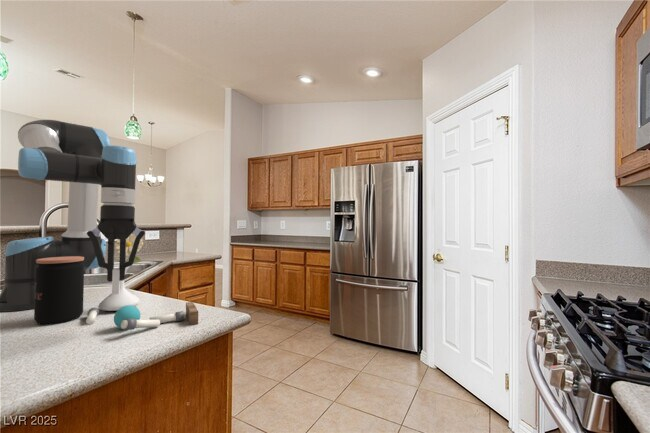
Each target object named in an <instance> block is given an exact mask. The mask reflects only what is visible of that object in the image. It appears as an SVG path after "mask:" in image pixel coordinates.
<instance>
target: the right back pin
mask: <svg viewBox="0 0 650 433" xmlns="http://www.w3.org/2000/svg"><path fill="white" fill-rule="evenodd" d="M160 325H161V323H160V320H159V319H156V320H149V319H139V320H136V319H125V320H123V321H122V323H121V328H120V329H121V330H123V331H127V330H129V331H130V330H131V331H132V330H134V329H145V328H146V329H148V328H151V329H152V328H159V327H160Z"/></svg>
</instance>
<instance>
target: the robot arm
mask: <svg viewBox="0 0 650 433" xmlns="http://www.w3.org/2000/svg"><path fill="white" fill-rule="evenodd" d="M17 138H18V142H19V144H20V145H21V146H22V147H21V148H20V149H19V151H18V159H17V160H18V162H17V169H18V170H17V172H18V175H19V176H20V178H23V179H24V178H25V179H32V180H36V181H51V182H53V181H55V182H63V183H64V182H67V183H69V184H68V207H67V209H68V210H67V224H66V225H67V229H66V231H64V232H63V233H62V234H61V238H60V239H59V240H58V239H55V238H54V237H53V236H39V237H31V238H23V239H17V240H12V241H9V242H7V244H6V246H5V254H4V257H5V259H4V260H5V263H4V266H5V267H4V283H3V284H4V285H3V288H2V290H1V292H0V312H17V311H26V310H27V311H28V310H34V308H35V273H36V268H37V267H38V264H37V263H36V260H37V259H41V258H51V257H68V256H81V257H84V260H83V261H82V264H83V265H84V271H87V270H94V269H98V268H101V269H102V268H103V269H106V271H107V272H106V273H107V274H106V276H107V277H106V281H107V282H111V293H112V295H113V294H119V292H120V281H123V280H124V281H125V279H126V274H125V268H126V267H128V266H129V267H132V266H133V265H134V263H133V262H134V259H135V256H137V253H138V252H137V249H138V246H139V243H140V239H141V240H142V238H144V237H143V236H144V235H145V234H146V232H145V230H142V229H140V228H139V227H137V224H136V222H135V219H136V218H135V217H136V216H135V212H136V208H135V206H133V205H135V204H136V180H137V179H136V176H137V173H136V172H137V164H138V162H137V152H136V151H135V150H134V149H132V148H130V147H126V146H121V145H111V141H110V137H109V135H108V133H107V132H106V131H105V130H103V129H99V128H96V127H93V126H87V125H81V124H77V123H72V122H71V123H70V122H65V121H60V120H56V119H39V120H38V119H37V120H33V121H29V122H25V124H23V125H21V126H20V128H19V130H18V132H17ZM99 187H101V188H100V203H101V204H102V205H101V206H100V210H99V211H100V213H99V214H100V216H99V219H100V220H99V223H98V224H97V222H98V205H99V204H98V202H99V199H98V198H99ZM133 232H135V233H134V234H135V236H136V239H135V241H134V245H133V248H132V251H131V254H130V257H129V256H128V258H129V260H128V261H127V258H126V257H127V256H126V239H127V238H128V237H129V236H130V235H131V234H133ZM102 235H103V236H104V237H105V238H106V239H107V241H106V239H104V238H102ZM117 239H119V240H120V254H119V260H120V261H118V262H119V268H114V267H115V247H114V244H115V243H116V240H117ZM106 251H107V252H106ZM106 253H107V262H106V260H105V257H106ZM126 261H127V262H126Z"/></svg>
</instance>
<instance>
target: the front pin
mask: <svg viewBox="0 0 650 433" xmlns="http://www.w3.org/2000/svg"><path fill="white" fill-rule="evenodd" d="M186 318H187V316H186V311H184V310H182V311H175V313H170V314H164V315H163V314H162V315H157V316H151V317H149V318H148V320H156V319H159V320H160V324H163V323H165V324H166V323H170V322H181V321H184V320H185V319H186Z"/></svg>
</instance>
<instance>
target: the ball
mask: <svg viewBox="0 0 650 433" xmlns="http://www.w3.org/2000/svg"><path fill="white" fill-rule="evenodd" d="M125 319H136V320H141V310H140V309H139V308H138V307H137V306H132V305H127V306H124V307H121V308H120V309H119V310H117V311H116V312H115V313H114V315H113V322H114V325H115V326H116V327H118V328H119V329H122V328H121V323H122V321H123V320H125Z"/></svg>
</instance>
